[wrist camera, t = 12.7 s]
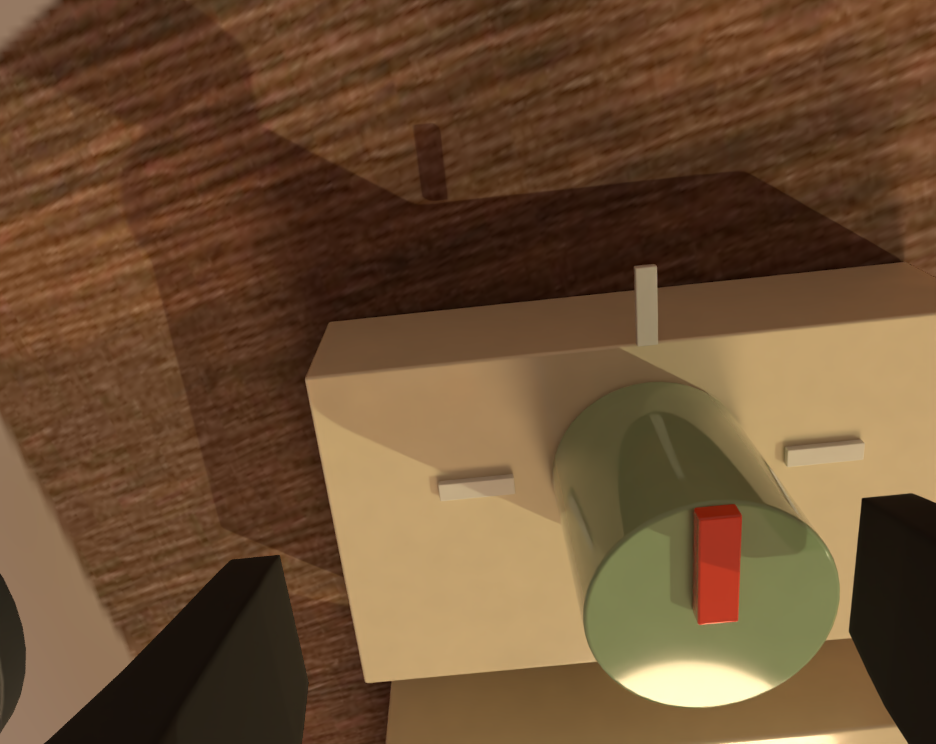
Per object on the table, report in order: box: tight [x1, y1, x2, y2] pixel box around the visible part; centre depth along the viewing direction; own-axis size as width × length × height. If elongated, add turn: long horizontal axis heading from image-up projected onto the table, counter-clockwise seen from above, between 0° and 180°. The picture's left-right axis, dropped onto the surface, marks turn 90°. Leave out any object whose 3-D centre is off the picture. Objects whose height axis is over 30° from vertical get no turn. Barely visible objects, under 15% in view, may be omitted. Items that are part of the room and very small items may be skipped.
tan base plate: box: [305, 262, 936, 683], centre depth 17 cm, size 12×8×3 cm
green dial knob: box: [552, 382, 840, 708], centre depth 13 cm, size 4×4×4 cm
